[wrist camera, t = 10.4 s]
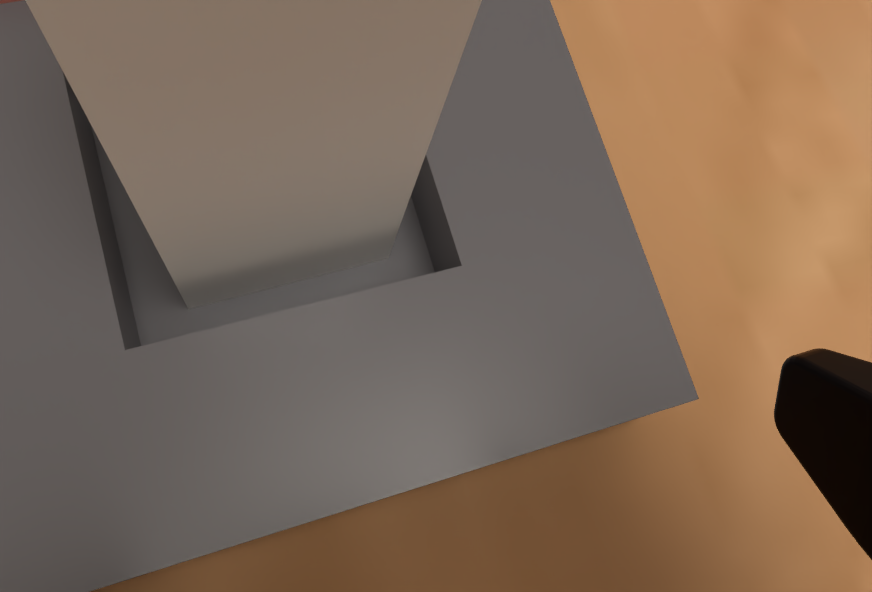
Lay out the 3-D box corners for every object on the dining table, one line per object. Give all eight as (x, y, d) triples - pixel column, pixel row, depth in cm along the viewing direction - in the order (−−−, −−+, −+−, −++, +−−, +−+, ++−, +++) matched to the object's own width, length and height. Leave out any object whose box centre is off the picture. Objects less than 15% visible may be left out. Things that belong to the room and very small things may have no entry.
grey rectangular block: (388, 257, 18) (579, -268, 6) (188, 308, 17) (-82, -204, 5) (332, 84, 19) (401, -684, 7) (140, 122, 17) (-191, -706, 6)
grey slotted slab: (636, 416, 18) (714, 394, 15) (-6, 619, 15) (-93, 649, 12) (458, -85, 21) (489, -199, 18) (-115, -5, 18) (-212, -126, 15)
